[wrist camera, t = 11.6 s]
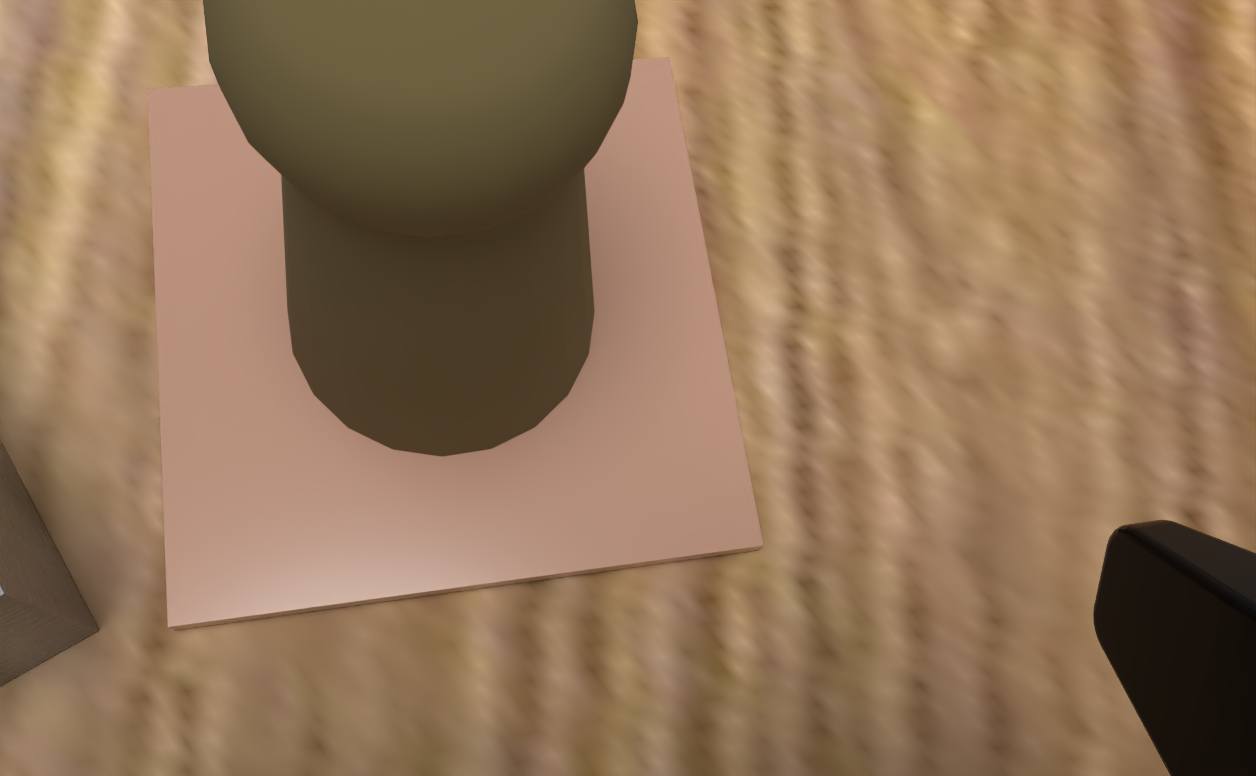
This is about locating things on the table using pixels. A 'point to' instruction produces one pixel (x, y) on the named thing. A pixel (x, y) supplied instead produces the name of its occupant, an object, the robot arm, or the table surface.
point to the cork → (431, 198)
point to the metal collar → (33, 585)
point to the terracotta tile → (413, 482)
